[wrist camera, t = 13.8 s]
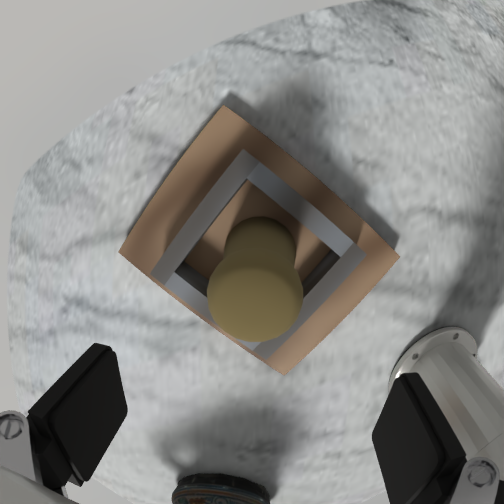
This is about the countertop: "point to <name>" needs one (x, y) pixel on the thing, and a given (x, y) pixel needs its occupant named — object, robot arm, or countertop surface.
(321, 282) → the shaker holder
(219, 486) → the beer stein
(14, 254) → the countertop surface
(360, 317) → the countertop surface
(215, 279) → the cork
